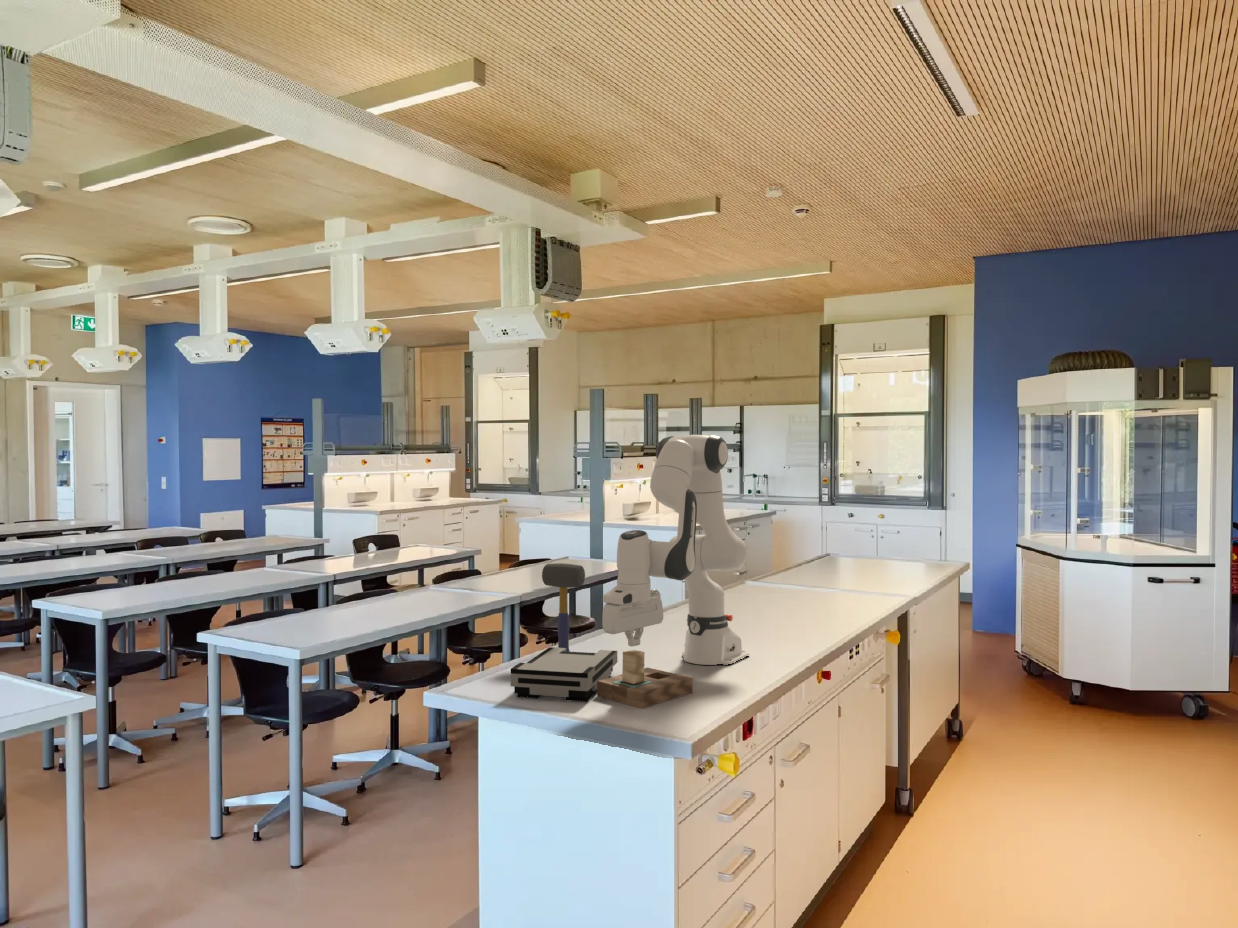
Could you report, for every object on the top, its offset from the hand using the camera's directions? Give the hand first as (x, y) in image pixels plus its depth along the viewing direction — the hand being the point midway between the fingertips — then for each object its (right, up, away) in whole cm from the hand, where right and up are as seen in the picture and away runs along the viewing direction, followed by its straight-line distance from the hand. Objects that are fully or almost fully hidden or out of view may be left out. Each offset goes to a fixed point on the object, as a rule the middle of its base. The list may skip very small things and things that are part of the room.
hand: (634, 645), depth 219 cm
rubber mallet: (-21, -14, +41) cm, 48 cm away
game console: (-18, -14, +10) cm, 25 cm away
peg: (0, -13, -2) cm, 13 cm away
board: (+3, -13, +2) cm, 14 cm away
